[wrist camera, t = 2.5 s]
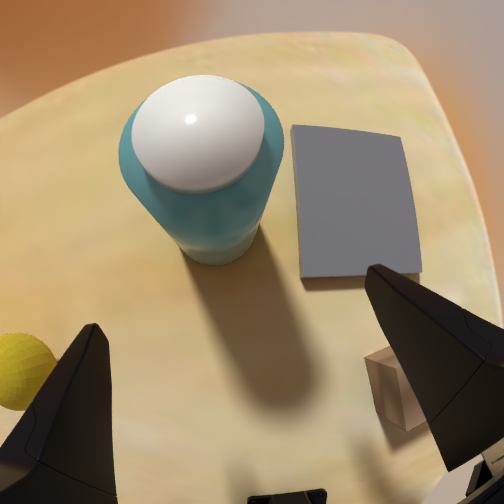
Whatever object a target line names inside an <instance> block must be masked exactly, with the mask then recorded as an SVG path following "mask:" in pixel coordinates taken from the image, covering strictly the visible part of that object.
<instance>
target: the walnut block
mask: <svg viewBox="0 0 504 504" xmlns="http://www.w3.org/2000/svg"><path fill="white" fill-rule="evenodd" d="M364 359H365V363H366V367H367V371H368V376H369V380H370V385H371V389H372V394H373V399H374V404H375V409H376V412H377V413H379V414H380V415H382V416H383V417H385V418H386V419H387V420H389V421H390V422H392V423H393V424H395V425H396V426H398V427H400V428H401V429H403V430H404V431H406V432H408V431H409V430H411V429H413V428H415V427H416V426H418V425H420V424H422V423H423V422H425V421H427V420H426V418H425V416H424V414H423V411H422V409H421V407H420V405H419V403H418V401H417V398H416V396H415V394H414V392H413V390H412V388H411V386H410V384H409V382H408V380H407V378H406V376H405V374H404V372H403V370H402V368H401V366H400V364H399V362H398V360H397V358H396V356H395V354H394V352H393V350H392V348H391V346H389V347H386V348H384V349H382V350H380V351H378V352H375V353H373V354H371V355H368V356H366V357H364Z"/></svg>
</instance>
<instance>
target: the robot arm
mask: <svg viewBox="0 0 504 504" xmlns="http://www.w3.org/2000/svg"><path fill="white" fill-rule="evenodd" d="M365 290H366V293H367V295H368V298H369V300H370V302H371V305H372V307H373V310H374V312H375V315H376V317H377V320H378V322H379V324H380V327H381V329H382V331H383V333H384V335H385V336H386V338H387V340H388V342H389V344H390V346H391V348H392V350H393V352H394V354H395V356H396V358H397V360H398V362H399V364H400V366H401V368H402V370H403V372H404V374H405V376H406V378H407V380H408V382H409V384H410V386H411V388H412V390H413V392H414V394H415V396H416V398H417V401H418V403H419V405H420V407H421V409H422V411H423V414H424V416H425V418H426V420H427V423H428V424H429V428H430V430H431V432H432V434H433V437H434V439H435V441H436V444H437V446H438V449H439V451H440V453H441V456H442V458H443V461H444V463H445V466H446V468H447V470H448V472H450V471H452V470H454V469H456V468H457V467H459V466H461V465H463V464H464V463H466V462H468V461H469V460H471V459H473V458H474V457H476V456H477V455H479V454H480V453H481V455H482V456H483V460H482V461H481V462H479V463H478V464H477V465H475V466H474V470H473V473H472V476H471V479H470V482H469V486H468V489H467V492H466V498H465V499H463V500H462V501H461V502H459V503H458V504H504V329H502V328H500V327H498V326H496V325H494V324H492V323H490V322H488V321H486V320H484V319H482V318H480V317H478V316H476V315H475V314H473V313H471V312H469V311H467V310H466V309H464V308H463V309H462V307H460V306H458V305H457V304H455V303H453V302H451V301H449V300H448V299H446V298H444V297H442V296H440V295H439V294H437V293H435V292H433V291H431V290H429V289H428V288H426V287H424V286H422V285H420V284H418V283H416V282H415V281H413V280H411V279H409V278H407V277H405V276H403V275H401V274H399V273H397V272H396V271H394V270H392V269H390V268H388V267H386V266H384V265H382V264H374V265H370V266H369V267H368V269H367V274H366V279H365ZM320 493H322V494H321V495H319V494H320ZM116 496H117V494H116V484H115V474H114V460H113V442H112V381H111V368H110V352H109V342H108V339H107V337H106V336H105V334H104V333H103V331H102V330H101V328H100V326H99V325H98V324H97V323H92V324H87V325H85V326H84V327H83V328H82V330H81V331H80V332H79V334H78V335H77V336H76V338H75V339H74V341H73V342H72V343H71V345H70V346H69V347H68V349H67V350H66V352H65V353H64V354H63V356H62V357H61V359H60V360H59V361H58V363H57V364H56V366H55V367H54V369H53V370H52V372H51V373H50V374H49V376H48V377H47V379H46V380H45V382H44V383H43V385H42V386H41V388H40V389H39V391H38V392H37V394H36V395H35V397H34V399H33V400H32V402H31V403H30V405H29V406H28V408H27V409H26V411H25V413H24V414H23V416H22V417H21V419H20V420H19V422H18V423H17V425H16V426H15V427H14V429H13V430H12V432H11V433H10V434H9V436H8V437H7V439H6V440H5V441H4V443H3V444H2V446H1V447H0V504H118V501H117V497H116ZM326 499H327V492H326V490H325V489H315V490H308V491H300V492H293V493H284V494H274V495H263V496H251V497H249V498H248V499H247V504H326ZM251 501H256V502H251Z"/></svg>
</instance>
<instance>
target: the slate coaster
mask: <svg viewBox="0 0 504 504" xmlns="http://www.w3.org/2000/svg"><path fill="white" fill-rule="evenodd" d="M290 133H291V144H292V155H293V167H294V180H295V194H296V209H297V226H298V244H299V266H300V278H325V277H353V276H366V274H367V269H368V267H369V266H370V265H374V264H382V265H384V266H386V267H388V268H390V269H392V270H394V271H396V272H397V273H399V274H416V273H421V272H422V262H421V252H420V242H419V234H418V226H417V219H416V212H415V206H414V200H413V194H412V188H411V183H410V178H409V173H408V168H407V163H406V159H405V154H404V150H403V146H402V142H401V138H400V137H397V136H392V135H385V134H379V133H372V132H365V131H357V130H349V129H340V128H330V127H319V126H307V125H292V128H291V130H290Z"/></svg>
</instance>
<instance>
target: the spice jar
mask: <svg viewBox="0 0 504 504" xmlns="http://www.w3.org/2000/svg"><path fill="white" fill-rule="evenodd" d="M283 150H284V135H283V129H282V126H281V123H280V120H279V118H278V116H277V114H276V112H275V111H274V109H273V108H272V106H271V105H270V104H269V103H268V102H267V101H266V100H265V99H264V98H263V97H262V96H261V95H260V94H258V93H257V92H256V91H254V90H252V89H251V88H249V87H247V86H245V85H243V84H241V83H238V82H235V81H232V80H230V79H227V78H223V77H219V76H212V75H196V76H189V77H184V78H181V79H177V80H175V81H172V82H170V83H168V84H166V85H164V86H162V87H161V88H159V89H158V90H156V91H155V92H154V93H153V94H152V95H150V96H149V97H148V98H147V99H146V100H145V101H144V102H142V103H141V104H140V106H139V107H138V108H137V109H136V110H135V111H134V113H133V114H132V115H131V117H130V118H129V120H128V122H127V123H126V125H125V127H124V130H123V132H122V135H121V139H120V143H119V164H120V169H121V173H122V175H123V178H124V180H125V182H126V184H127V186H128V187H129V189H130V190H131V191H132V192H133V194H134V195H135V196H136V197H137V198H138V200H139V201H140V202H141V203H142V204H143V206H144V207H145V208H146V209H147V210H148V211H149V213H150V214H151V215H152V216H153V217H154V218H155V220H156V221H157V222H158V223H159V224H160V225H161V227H162V228H163V229H164V230H165V231H166V232H167V233H168V235H169V236H170V237H171V238H172V239H173V240H174V241H175V242H176V244H177V245H178V246H179V247H180V248H181V249H182V250H183V251H184V253H185V254H186V255H188V256H189V257H190V258H192V259H193V260H195V261H197V262H199V263H202V264H206V265H214V266H216V265H224V264H228V263H230V262H233V261H235V260H237V259H238V258H240V257H241V256H242V255H243V254H244V253H245V252H246V251H247V250H248V249H249V247H250V246H251V244H252V242H253V240H254V238H255V235H256V232H257V229H258V226H259V223H260V220H261V218H262V215H263V212H264V209H265V206H266V203H267V200H268V198H269V195H270V192H271V189H272V186H273V183H274V180H275V178H276V175H277V172H278V169H279V166H280V163H281V160H282V157H283Z"/></svg>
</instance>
